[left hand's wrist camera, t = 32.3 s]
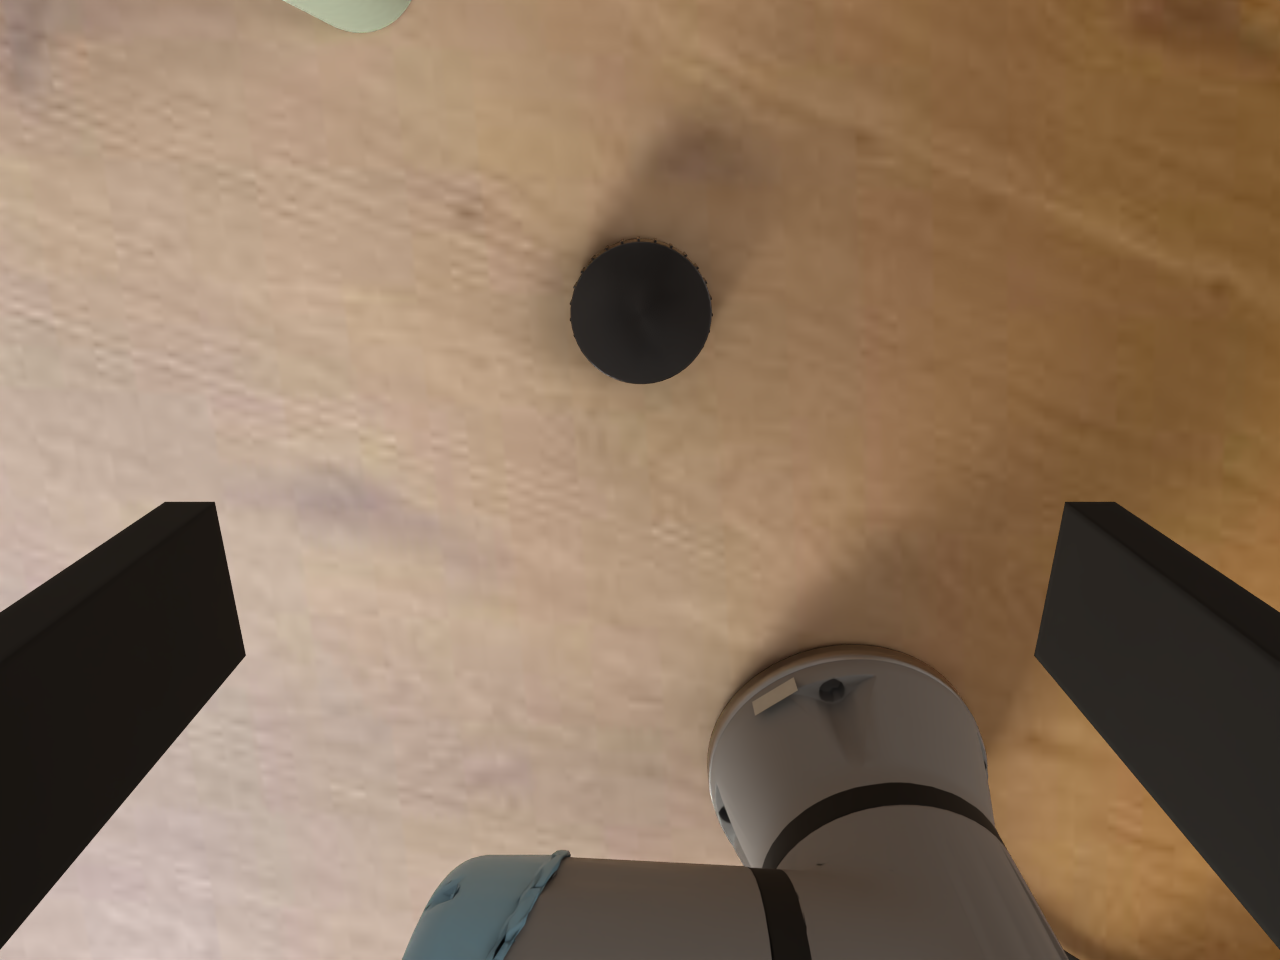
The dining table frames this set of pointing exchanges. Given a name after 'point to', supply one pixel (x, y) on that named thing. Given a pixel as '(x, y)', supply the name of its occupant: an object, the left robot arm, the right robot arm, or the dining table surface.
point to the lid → (641, 311)
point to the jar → (354, 12)
